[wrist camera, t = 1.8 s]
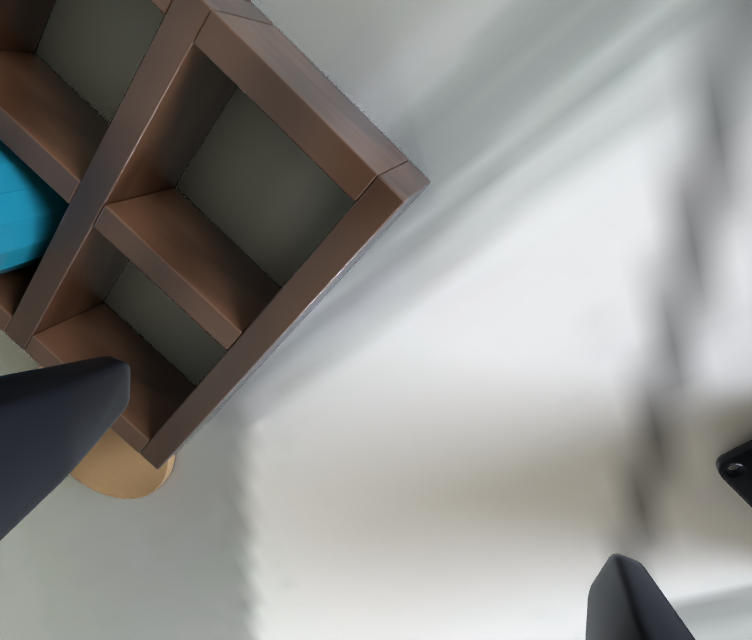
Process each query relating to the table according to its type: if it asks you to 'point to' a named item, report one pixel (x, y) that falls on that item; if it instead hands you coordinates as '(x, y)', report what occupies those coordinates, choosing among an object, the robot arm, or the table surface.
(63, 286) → the glass rack
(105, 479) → the coaster
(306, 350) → the table surface
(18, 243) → the tumbler
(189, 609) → the table surface
